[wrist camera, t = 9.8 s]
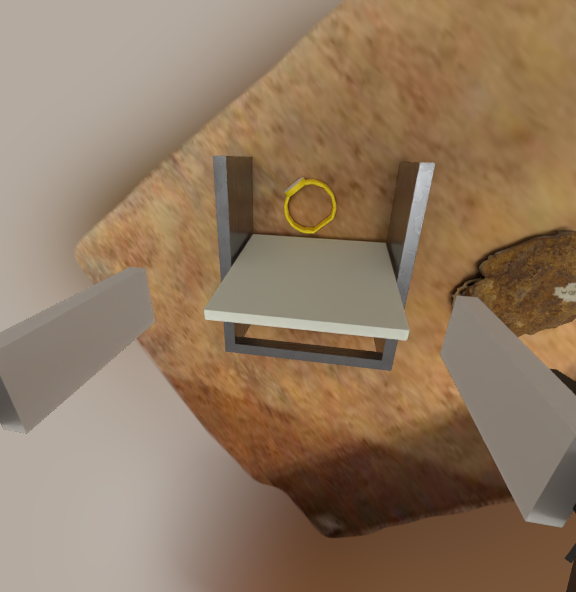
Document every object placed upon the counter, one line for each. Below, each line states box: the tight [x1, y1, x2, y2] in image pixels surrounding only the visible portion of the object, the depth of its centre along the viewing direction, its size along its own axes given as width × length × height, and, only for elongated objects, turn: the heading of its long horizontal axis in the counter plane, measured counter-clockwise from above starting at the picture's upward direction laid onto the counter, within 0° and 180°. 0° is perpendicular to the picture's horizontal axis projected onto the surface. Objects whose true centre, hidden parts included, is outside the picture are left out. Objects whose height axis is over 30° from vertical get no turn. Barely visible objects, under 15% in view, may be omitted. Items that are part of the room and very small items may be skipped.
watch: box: [284, 177, 336, 234], centre depth 35 cm, size 6×3×6 cm
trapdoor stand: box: [213, 156, 435, 371], centre depth 34 cm, size 19×21×9 cm
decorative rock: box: [451, 230, 576, 337], centre depth 35 cm, size 11×4×15 cm
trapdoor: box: [204, 234, 410, 341], centre depth 30 cm, size 16×16×1 cm
